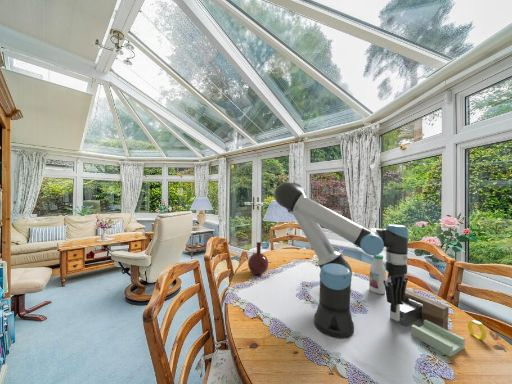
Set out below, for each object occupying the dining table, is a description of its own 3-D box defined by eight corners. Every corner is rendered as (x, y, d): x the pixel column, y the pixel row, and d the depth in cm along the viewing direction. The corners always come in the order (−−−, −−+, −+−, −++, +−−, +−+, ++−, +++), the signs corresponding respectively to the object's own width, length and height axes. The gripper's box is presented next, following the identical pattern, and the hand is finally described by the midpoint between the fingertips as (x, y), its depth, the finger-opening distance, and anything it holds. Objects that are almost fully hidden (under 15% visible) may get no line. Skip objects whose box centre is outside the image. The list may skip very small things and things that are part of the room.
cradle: (464, 348, 75) (464, 338, 75) (450, 357, 71) (450, 346, 71) (425, 328, 86) (425, 319, 86) (411, 334, 82) (411, 325, 82)
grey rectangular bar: (404, 327, 87) (405, 312, 87) (390, 319, 92) (390, 305, 92) (428, 316, 95) (429, 303, 95) (413, 309, 100) (414, 297, 100)
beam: (442, 331, 84) (443, 309, 84) (396, 308, 101) (396, 289, 100) (447, 328, 86) (448, 306, 86) (401, 306, 102) (401, 287, 102)
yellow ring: (465, 332, 85) (465, 317, 85) (473, 333, 84) (473, 317, 85) (480, 342, 79) (480, 325, 79) (488, 343, 78) (488, 326, 79)
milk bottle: (381, 288, 121) (382, 253, 121) (388, 295, 113) (389, 257, 113) (366, 287, 122) (368, 252, 122) (372, 293, 114) (374, 256, 114)
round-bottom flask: (245, 270, 141) (246, 240, 141) (264, 269, 145) (264, 240, 145) (250, 279, 129) (251, 246, 128) (271, 276, 132) (272, 245, 132)
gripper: (395, 267, 82) (394, 328, 82) (415, 263, 87) (414, 320, 87) (377, 261, 89) (376, 317, 89) (396, 257, 94) (395, 310, 94)
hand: (395, 319), depth 88 cm, fingers closed
